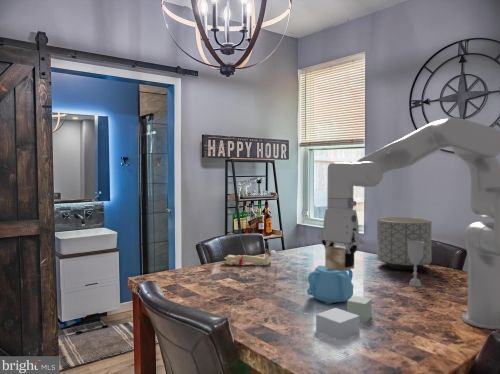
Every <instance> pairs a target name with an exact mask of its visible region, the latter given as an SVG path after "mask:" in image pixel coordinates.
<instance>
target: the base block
mask: <svg viewBox="0 0 500 374" xmlns="http://www.w3.org/2000/svg"><path fill="white" fill-rule="evenodd" d="M360 324H361V321H360V316H359V315H356V314H353V313H350V312H347V311H346V310H344V309H340V308H337V307H334V308H331V309H328V310H325V311H322V312H319V313H315V330H316V331H318V332H320V333H322V334H325V335H327V336H330V337H332V338H335V339H337V340H342V339H344V338H348V337H350V336H352V335H354V334H356V333H360V327H361V326H360Z"/></svg>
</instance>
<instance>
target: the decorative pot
mask: <svg viewBox="0 0 500 374" xmlns="http://www.w3.org/2000/svg"><path fill="white" fill-rule="evenodd" d="M353 277H354V276H353V271H352V269H350V270H346V271H338V270H333V269H329V268H325V265H318V266H316V268H315V269H314V271H311V272H310V273H309V274H308V276H307V280H308V284H309V286H308V288H307V291H306V293H307V295H308V296H312V297H313V298H314V299H316V300H318V301H320V302H324V304H325V305H331V304H332V303H346V302H347V300H349V299H350V298H351V297H353V296H354V284H353V282H352V280H353Z"/></svg>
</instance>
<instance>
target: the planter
mask: <svg viewBox="0 0 500 374" xmlns="http://www.w3.org/2000/svg"><path fill="white" fill-rule="evenodd" d="M376 220H377V221H376V227H377V229H376V231H377V232H376V234H377V235H376V241H377V243H376V250H377V251H376V258H377V260H378V261H380V262H383V263H385V265H387V266H389V267H390V268H392V269H395V270H401V271H402V270H403V271H412V270H413V271H414V269H413V268H414V264H413V263H412V262H411V260H410V258H409V255H408V243H407V241H422V242H424V244H423V256H422V259H421V260H420V262H419V264H417V266H416V267H417V269H419V268H422V267H423V266H424V265H429V264H431V263H432V220H431V219H428V218H424V217H423V218H422V217H412V216H385V217H378V218H377V219H376Z"/></svg>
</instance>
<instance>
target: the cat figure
mask: <svg viewBox="0 0 500 374" xmlns="http://www.w3.org/2000/svg"><path fill="white" fill-rule="evenodd" d="M266 254H267V255H266V256H265V257H261V256H260V257H259V256H257V255H256V256H254V255H246V254H245V253H243V254H242V255H240V254H237V255H234V254H228V255H227V256H225V257H224V258H223V261H222V263H223V264H225V265H230V266H233V265H235V263H238V264H240V266H241V265H242V266H243V262H244V263H252V264H253V263H254V264H257V265H258V264H259V265H262V266H267V265H268V267H271V266H272V259H270V257H271V256H272V253H271V251H270V250H267V251H266ZM268 258H269V259H268Z"/></svg>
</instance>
